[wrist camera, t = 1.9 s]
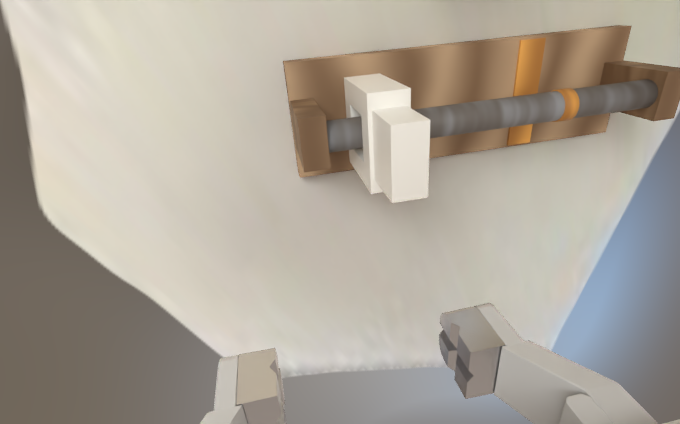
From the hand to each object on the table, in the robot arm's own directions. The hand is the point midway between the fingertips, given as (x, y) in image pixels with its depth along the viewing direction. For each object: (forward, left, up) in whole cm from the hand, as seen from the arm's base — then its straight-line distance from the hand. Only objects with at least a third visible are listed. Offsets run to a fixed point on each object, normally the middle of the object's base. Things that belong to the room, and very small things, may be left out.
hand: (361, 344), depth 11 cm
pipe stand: (0, +16, -27) cm, 32 cm away
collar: (0, +6, -24) cm, 25 cm away
